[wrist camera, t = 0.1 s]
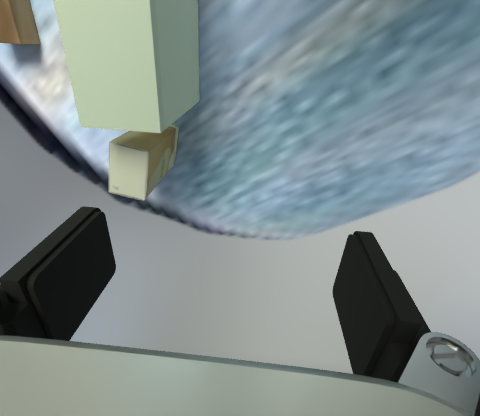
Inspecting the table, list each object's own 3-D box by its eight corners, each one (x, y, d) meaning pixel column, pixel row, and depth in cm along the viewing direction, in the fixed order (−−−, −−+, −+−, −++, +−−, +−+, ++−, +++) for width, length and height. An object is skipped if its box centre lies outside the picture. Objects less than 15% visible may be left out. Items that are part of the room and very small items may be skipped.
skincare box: (175, 165, 43) (145, 204, 33) (146, 158, 43) (107, 195, 33) (180, 123, 40) (149, 151, 30) (149, 115, 40) (107, 141, 29)
